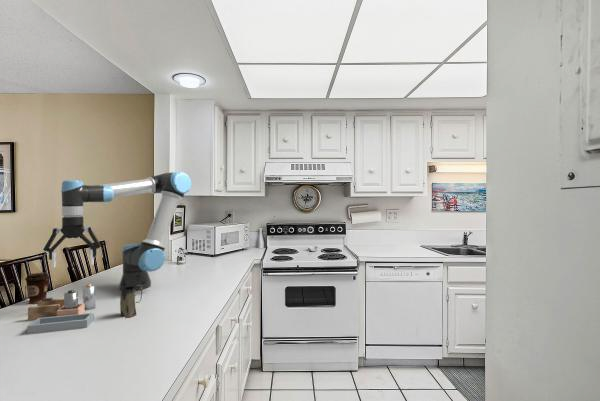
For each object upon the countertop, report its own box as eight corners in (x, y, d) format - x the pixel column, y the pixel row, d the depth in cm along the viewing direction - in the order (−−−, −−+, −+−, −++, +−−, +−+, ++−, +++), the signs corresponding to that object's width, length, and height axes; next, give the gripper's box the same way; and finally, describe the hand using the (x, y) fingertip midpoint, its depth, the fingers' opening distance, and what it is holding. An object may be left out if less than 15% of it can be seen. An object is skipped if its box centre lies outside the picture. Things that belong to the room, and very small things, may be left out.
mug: (118, 318, 127) (118, 288, 127) (122, 313, 133) (122, 284, 133) (140, 316, 129) (140, 286, 129) (143, 312, 135) (143, 283, 135)
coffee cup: (35, 305, 144) (34, 276, 144) (20, 304, 146) (19, 275, 146) (53, 299, 153) (53, 272, 153) (39, 298, 154) (38, 271, 154)
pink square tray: (84, 315, 131) (84, 303, 131) (78, 321, 125) (78, 308, 125) (64, 317, 129) (64, 305, 129) (57, 324, 123) (56, 310, 122)
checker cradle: (69, 310, 137) (69, 296, 137) (60, 319, 127) (59, 303, 127) (38, 313, 134) (38, 298, 134) (26, 322, 124) (26, 306, 124)
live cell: (96, 307, 141) (96, 282, 141) (93, 310, 137) (93, 285, 137) (85, 308, 140) (84, 283, 140) (81, 312, 136) (81, 286, 135)
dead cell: (79, 315, 130) (79, 288, 130) (75, 319, 125) (75, 291, 125) (67, 316, 128) (66, 289, 128) (62, 320, 124) (62, 292, 124)
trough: (94, 321, 125) (93, 312, 125) (87, 329, 118) (87, 320, 118) (38, 327, 120) (38, 318, 120) (27, 335, 112) (27, 326, 112)
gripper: (107, 215, 148) (108, 261, 148) (39, 216, 138) (40, 266, 138) (105, 215, 141) (105, 264, 141) (33, 217, 131) (34, 270, 131)
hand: (73, 265), depth 139 cm, fingers open, 13 cm apart
